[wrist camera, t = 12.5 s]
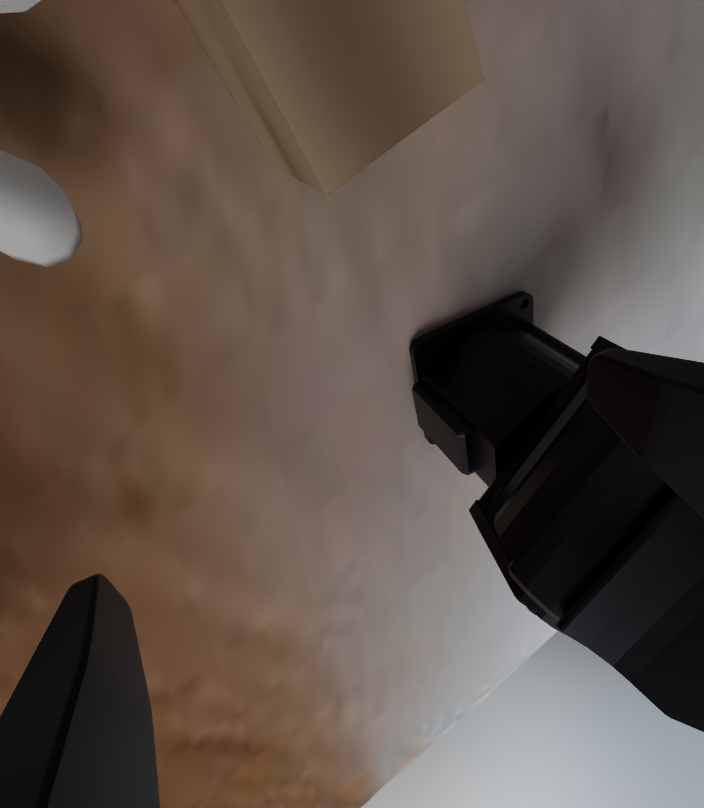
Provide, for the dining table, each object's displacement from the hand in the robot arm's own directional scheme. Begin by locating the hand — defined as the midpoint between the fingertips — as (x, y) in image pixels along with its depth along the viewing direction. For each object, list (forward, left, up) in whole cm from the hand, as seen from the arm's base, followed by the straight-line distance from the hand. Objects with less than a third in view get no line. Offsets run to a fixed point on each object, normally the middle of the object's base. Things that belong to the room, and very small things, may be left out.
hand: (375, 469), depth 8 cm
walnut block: (-4, -5, -12) cm, 14 cm away
